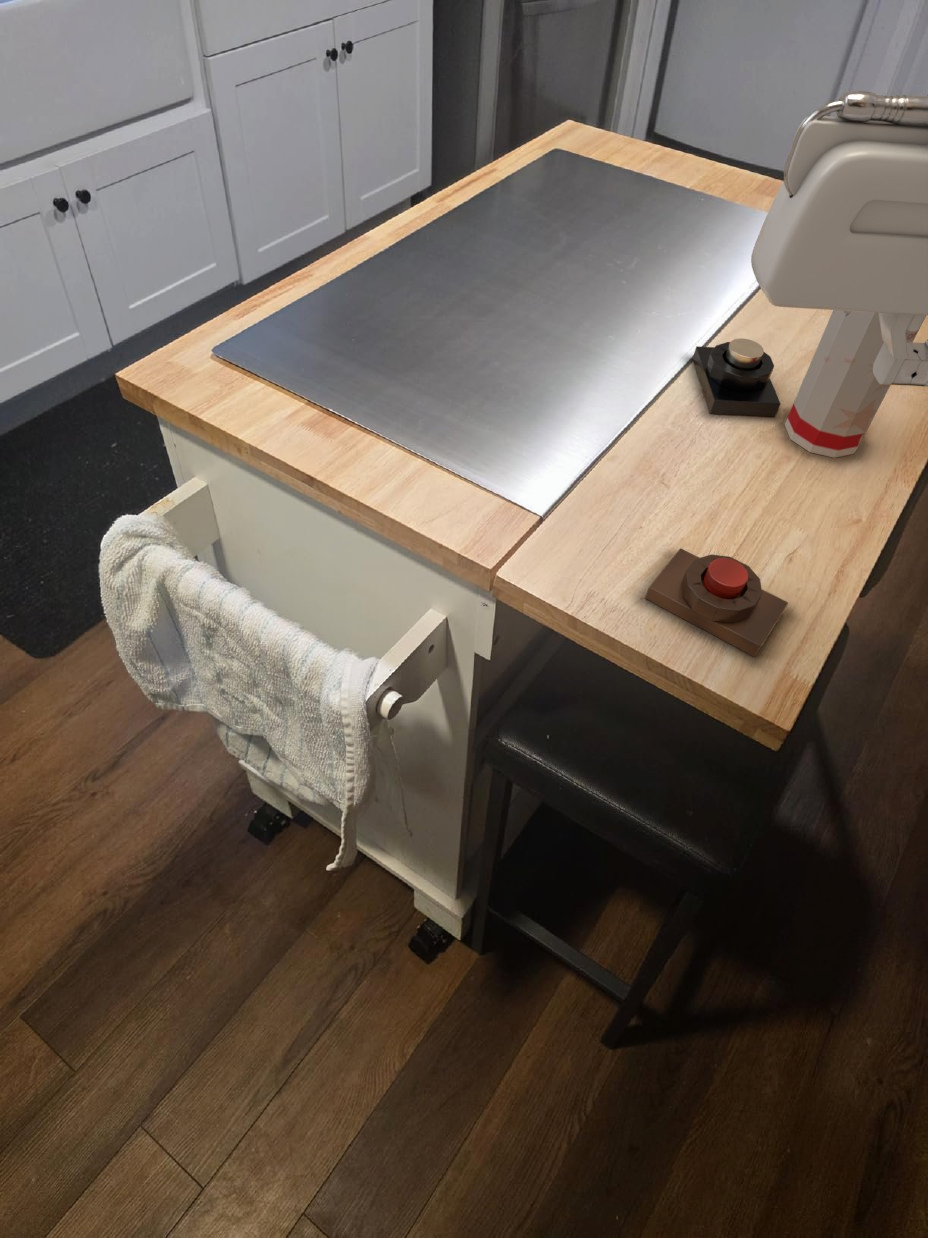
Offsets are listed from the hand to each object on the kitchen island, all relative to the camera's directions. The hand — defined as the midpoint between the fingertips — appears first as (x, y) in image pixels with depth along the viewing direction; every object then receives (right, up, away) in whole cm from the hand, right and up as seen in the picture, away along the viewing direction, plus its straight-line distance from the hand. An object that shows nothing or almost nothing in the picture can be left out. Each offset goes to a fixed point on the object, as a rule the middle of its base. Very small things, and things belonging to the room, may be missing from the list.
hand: (900, 379), depth 48 cm
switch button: (+5, +14, +44) cm, 46 cm away
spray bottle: (+13, +6, +42) cm, 45 cm away
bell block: (-3, -12, +25) cm, 28 cm away
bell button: (-3, -10, +23) cm, 26 cm away
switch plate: (+5, +12, +46) cm, 48 cm away
